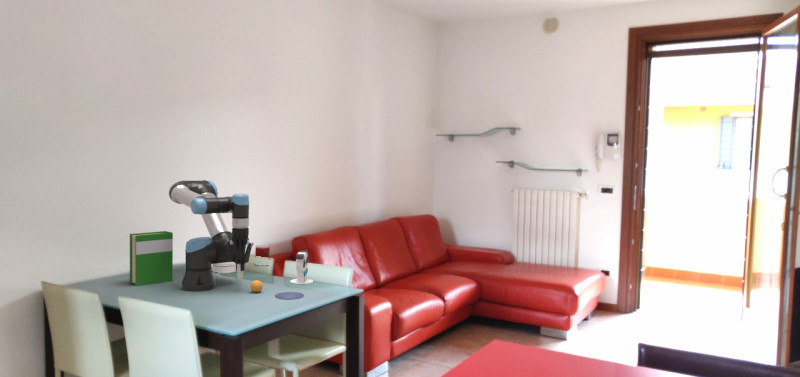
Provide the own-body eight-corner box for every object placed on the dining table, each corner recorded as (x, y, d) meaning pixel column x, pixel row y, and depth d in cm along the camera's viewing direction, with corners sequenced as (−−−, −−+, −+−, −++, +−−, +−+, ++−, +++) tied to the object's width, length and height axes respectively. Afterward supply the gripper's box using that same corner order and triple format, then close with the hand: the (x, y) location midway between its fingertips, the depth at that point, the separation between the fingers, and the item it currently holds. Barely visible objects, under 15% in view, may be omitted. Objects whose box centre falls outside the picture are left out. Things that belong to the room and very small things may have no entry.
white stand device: (310, 284, 285) (310, 254, 284) (287, 284, 286) (288, 253, 285) (314, 279, 297) (315, 250, 296) (292, 278, 298) (293, 249, 297)
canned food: (266, 266, 327) (266, 247, 326) (252, 265, 328) (253, 246, 328) (271, 264, 334) (272, 245, 334) (258, 263, 336) (259, 244, 335)
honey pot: (241, 271, 314) (241, 238, 313) (219, 274, 304) (220, 240, 303) (229, 267, 322) (229, 235, 321) (207, 270, 313) (207, 237, 312)
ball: (248, 292, 266) (248, 281, 265) (254, 290, 271) (254, 278, 271) (258, 294, 264) (258, 282, 264) (264, 291, 269) (265, 279, 269)
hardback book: (136, 286, 273) (136, 235, 271) (129, 283, 278) (129, 233, 276) (172, 280, 286) (172, 232, 284) (165, 278, 291) (165, 231, 289)
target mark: (269, 297, 258) (269, 297, 258) (283, 291, 270) (283, 290, 270) (295, 300, 254) (295, 300, 254) (308, 294, 266) (308, 293, 266)
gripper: (223, 227, 267) (223, 278, 268) (248, 228, 263) (247, 280, 264) (232, 225, 274) (232, 275, 275) (257, 227, 270) (256, 277, 271)
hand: (240, 277), depth 270 cm, fingers closed
